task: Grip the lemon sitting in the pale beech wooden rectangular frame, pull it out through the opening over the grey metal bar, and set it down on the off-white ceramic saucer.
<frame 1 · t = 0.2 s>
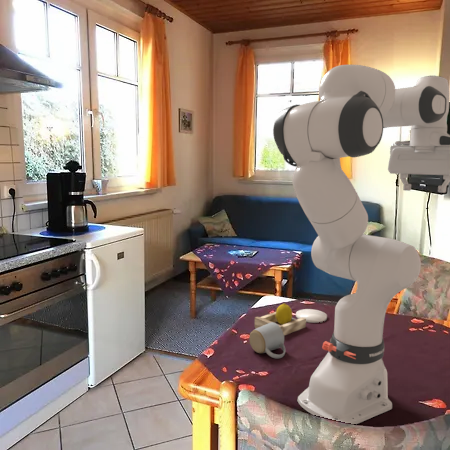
hand: (423, 191, 116), 48 cm above the table, fingers open, 8 cm apart
ceramic mug: (269, 352, 125), on the table
saucer: (311, 317, 153), on the table
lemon: (283, 326, 144), resting in wooden rectangular frame
wooden rectangular frame: (281, 326, 144), on the table
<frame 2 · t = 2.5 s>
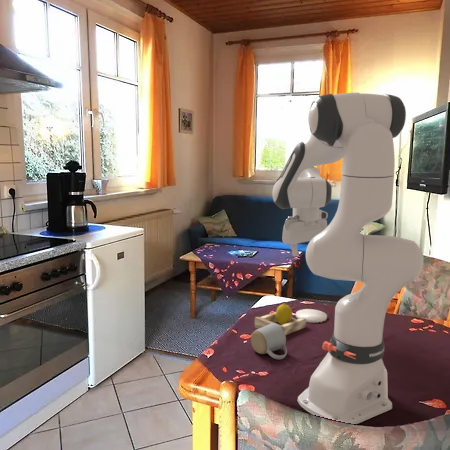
hand: (304, 253, 147), 24 cm above the table, fingers open, 8 cm apart
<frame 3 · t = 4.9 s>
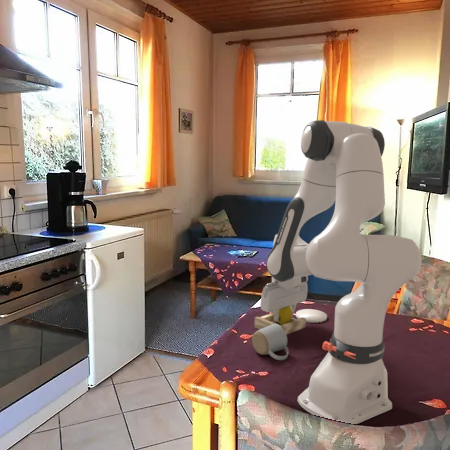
hand: (283, 318, 144), 3 cm above the table, fingers closed on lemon, 5 cm apart
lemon: (283, 326, 144), resting in wooden rectangular frame, touching gripper
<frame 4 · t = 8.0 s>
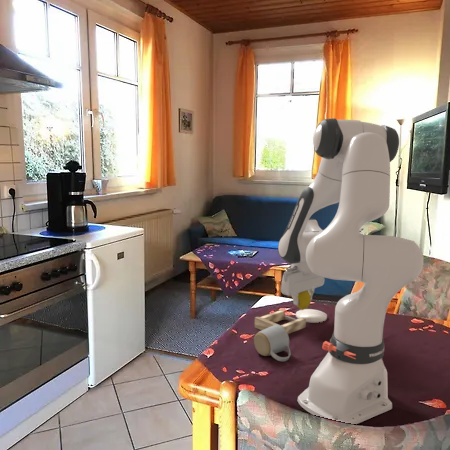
hand: (302, 302, 150), 6 cm above the table, fingers closed on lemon, 6 cm apart
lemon: (302, 310, 150), point 3 cm above the table, touching gripper
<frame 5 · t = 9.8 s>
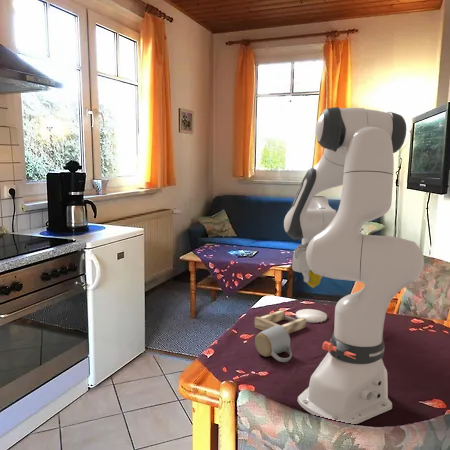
hand: (313, 279, 151), 14 cm above the table, fingers closed on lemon, 6 cm apart
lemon: (312, 288, 151), point 11 cm above the table, touching gripper
when the fingers open (5 cm above the table, at t = 11.1 s): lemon stays where it is, resting on saucer.
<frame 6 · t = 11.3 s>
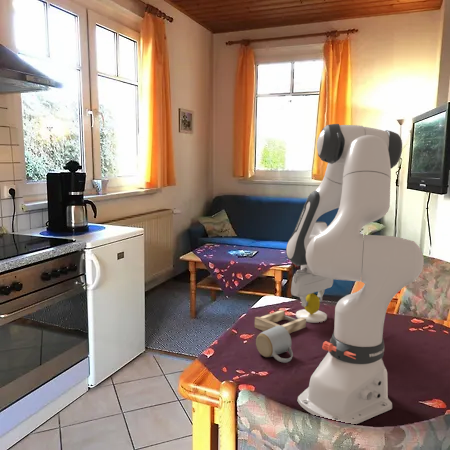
hand: (311, 303, 152), 5 cm above the table, fingers open, 7 cm apart
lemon: (311, 314, 153), point 1 cm above the table, touching saucer
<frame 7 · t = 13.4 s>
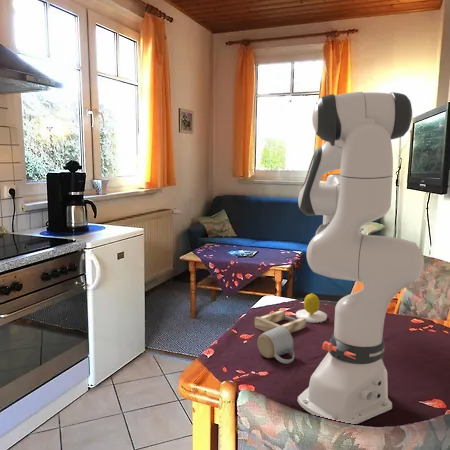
hand: (334, 262, 145), 21 cm above the table, fingers open, 8 cm apart
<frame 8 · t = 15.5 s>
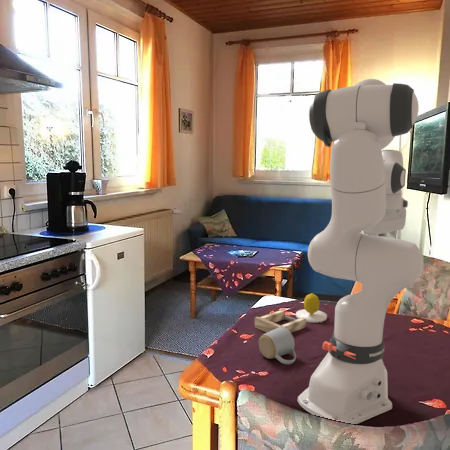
hand: (383, 246, 135), 29 cm above the table, fingers open, 8 cm apart
at the end: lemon inside the target area on the saucer (0.1 cm from its centre), point 0.8 cm above the saucer's base; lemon touching saucer; the gripper is holding nothing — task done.
